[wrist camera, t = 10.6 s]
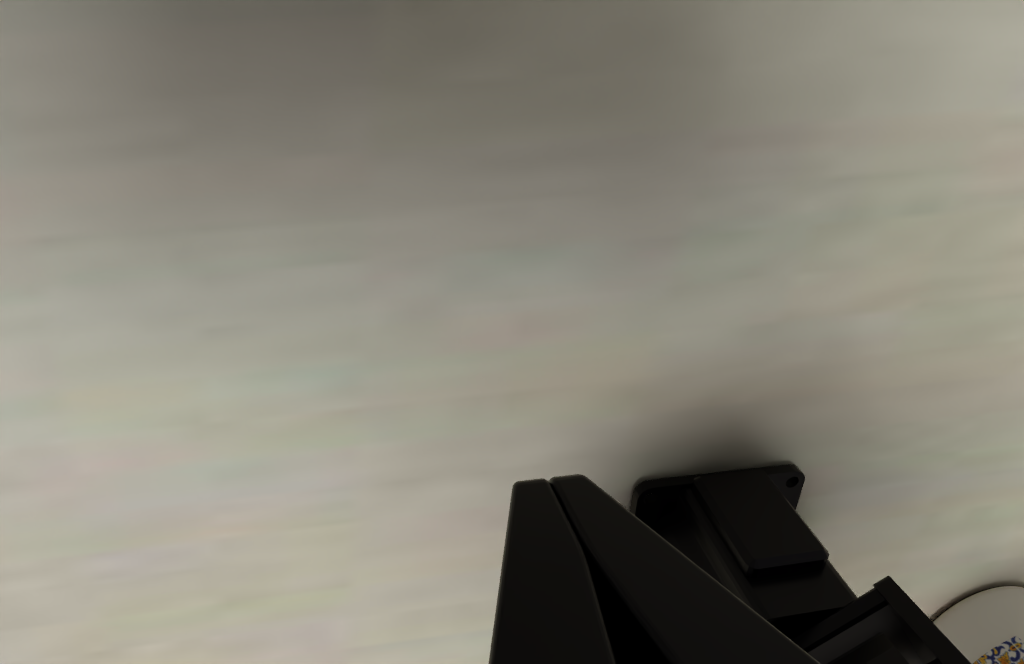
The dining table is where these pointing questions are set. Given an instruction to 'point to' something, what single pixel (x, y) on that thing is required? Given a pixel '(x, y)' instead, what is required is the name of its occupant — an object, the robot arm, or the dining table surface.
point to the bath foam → (987, 626)
